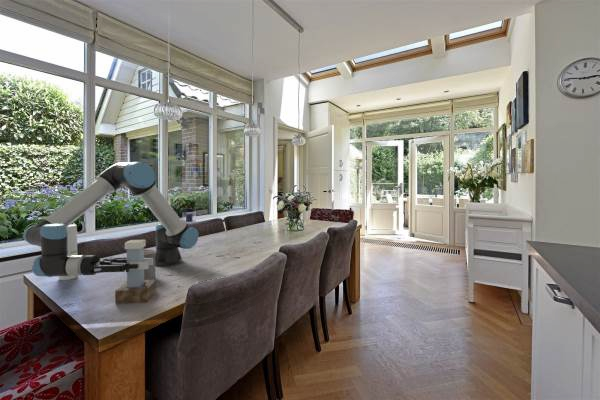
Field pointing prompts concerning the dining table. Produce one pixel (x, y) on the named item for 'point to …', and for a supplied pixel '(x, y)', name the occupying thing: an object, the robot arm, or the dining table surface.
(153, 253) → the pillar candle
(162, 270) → the dining table surface
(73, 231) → the cylindrical container
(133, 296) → the socket block
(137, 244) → the plug
